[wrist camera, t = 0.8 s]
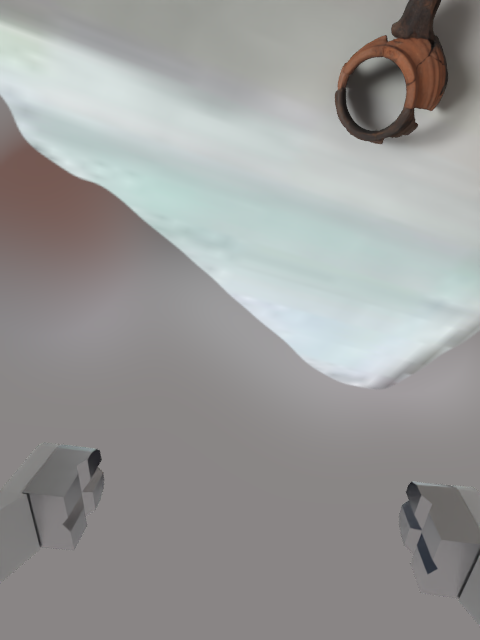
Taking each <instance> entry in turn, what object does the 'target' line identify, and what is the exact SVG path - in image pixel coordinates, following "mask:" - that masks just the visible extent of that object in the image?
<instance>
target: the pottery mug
mask: <svg viewBox="0 0 480 640" xmlns="http://www.w3.org/2000/svg"><path fill="white" fill-rule="evenodd" d="M440 3H441V0H409V2H408V4H407V6H406V8H405V11H404V13H403V16H402V17H401V19H400V20H399V21H398V22H396V23H394V24H393V25H392V28H391V30H392V35H393V36H394V37H396V38H398V39H394V40H393V41H389V42H388V40H387V36H386V35H385V36H382V37H380V38H377V39H375V40H374V41H372V42H370V43H368V44H366V45H365V46H364V47H362V48H361V49H360V50H359V51H357V52H356V53H355V54H354V55H353V56H352V57H351V58H350V60H349V61H348V62H347V63H345V64H344V66H343V68H342V70H341V73H340V76H339V81H338V90H337V91H336V93H335V105H336V109H337V114H338V117H339V120H340V121H341V123H342V124H343V126H344V127H345V128H346V129H347V131H348V132H349V133H350V134H351V135H353V136H355V137H356V138H358V139H360V140H364V141H370V142H373V143H376V144H382V143H383V140H384V138H387V137H392V138H393V137H395V138H397V137H400V136H402V135H409V134H410V133H411V132H413V131H414V130H415V129H416V128H417V127H418V124H417V123H415V117H414V108H419V109H427V110H430V111H432V110H433V109H434V108H435V107H436V106H437V104H438V103H439V101H440V99H441V97H442V95H443V93H444V91H445V88H446V85H447V81H448V72H447V64H446V59H445V56H444V53H443V49H442V47H441V44H440V42H439V39H438V37H437V36H435V35H434V34H433V19H434V17H435V14H436V11H437V9H438V7H439V5H440ZM374 57H385V58H388V59H390V60H392V61H393V62H394V63H396V64H397V66H398V67H399V68H400V69H401V71H402V73H403V75H404V77H405V81H406V91H407V93H406V100H405V104H404V108H403V110H402V112H401V114H400V115H399V117H398V118H397V119H396V121H395V122H393V123H392V124H391V125H390V126H388V127H387V128H385V129H382V130H379V131H370V130H366V129H363V128H361V127H360V126H358V125H357V124H356V123H355V122H354V121H353V119H352V117H351V116H350V114H349V112H348V109H347V105H346V89H345V88H346V84H347V81H348V78H349V76H350V75H351V74H352V73H353V71H354V70H355V69H356V68H357V67H358V66H359V65H360V64H361V63H362V62H364V61H365V60H367V59H370V58H374Z"/></svg>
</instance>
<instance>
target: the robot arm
mask: <svg viewBox="0 0 480 640" xmlns="http://www.w3.org/2000/svg"><path fill="white" fill-rule="evenodd" d="M101 460H102V459H101V454H100V450H98V449H93V448H86V447H78V446H70V445H59V444H52V443H42V444H40V445H38V446H37V447H36V449H35V450H34V451H33V452H32V453H31V455H30V456H29V457H28V458H27V459H26V460H25V462H24V463H23V464H22V465H21V466H20V468H19V469H18V470H17V471H16V472H15V473H14V475H13V476H12V477H11V478H10V479H9V480H8V482H7V483H6V484H5V485H4V486H3V488H2V489H1V490H0V583H1V582H2V581H4V580H5V579H6V578H7V577H8V576H10V575H11V574H12V573H13V572H14V571H15V570H17V569H18V568H19V567H20V566H21V565H23V564H24V563H25V562H26V561H27V560H29V559H30V558H31V557H32V556H33V555H34V554H36V553H37V552H38V551H39V550H40V547H42V548H53V549H64V550H65V549H66V550H74V549H75V548H76V546H77V544H78V542H79V540H80V538H81V536H82V534H83V533H84V531H85V529H86V527H87V522H86V516H88V515H89V514H90V513H92V512H93V511H94V510H96V508H97V506H98V503H99V501H100V499H101V495H102V492H103V489H104V475H103V472H102V471H101V470H100V468H98V465H99V464H100V462H101ZM406 494H407V497H408V499H409V500H408V501H407V502H406V503H404V504H403V505H402V507H401V510H400V514H399V527H400V533H401V537H402V540H403V543H404V546H405V547H406V548H407V549H408V550H409V551H410V552H411V553H412V554H413V558H412V561H411V563H410V564H411V567H412V570H413V573H414V576H415V579H416V582H417V585H418V588H419V590H420V593H424V594H430V595H437V596H443V597H450V598H457V599H459V600H458V601H459V602H460V604H461V605H462V606H463V607H464V608H465V609H466V611H467V612H468V613H469V614H470V615H471V617H472V618H473V619H474V620H475V621H476V622H477V624H478V625H479V626H480V493H479V492H478V490H477V489H475V488H474V487H464V486H454V485H453V486H451V485H443V484H432V483H422V482H411V483H410V484H409V485H408V487H407V491H406Z"/></svg>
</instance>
